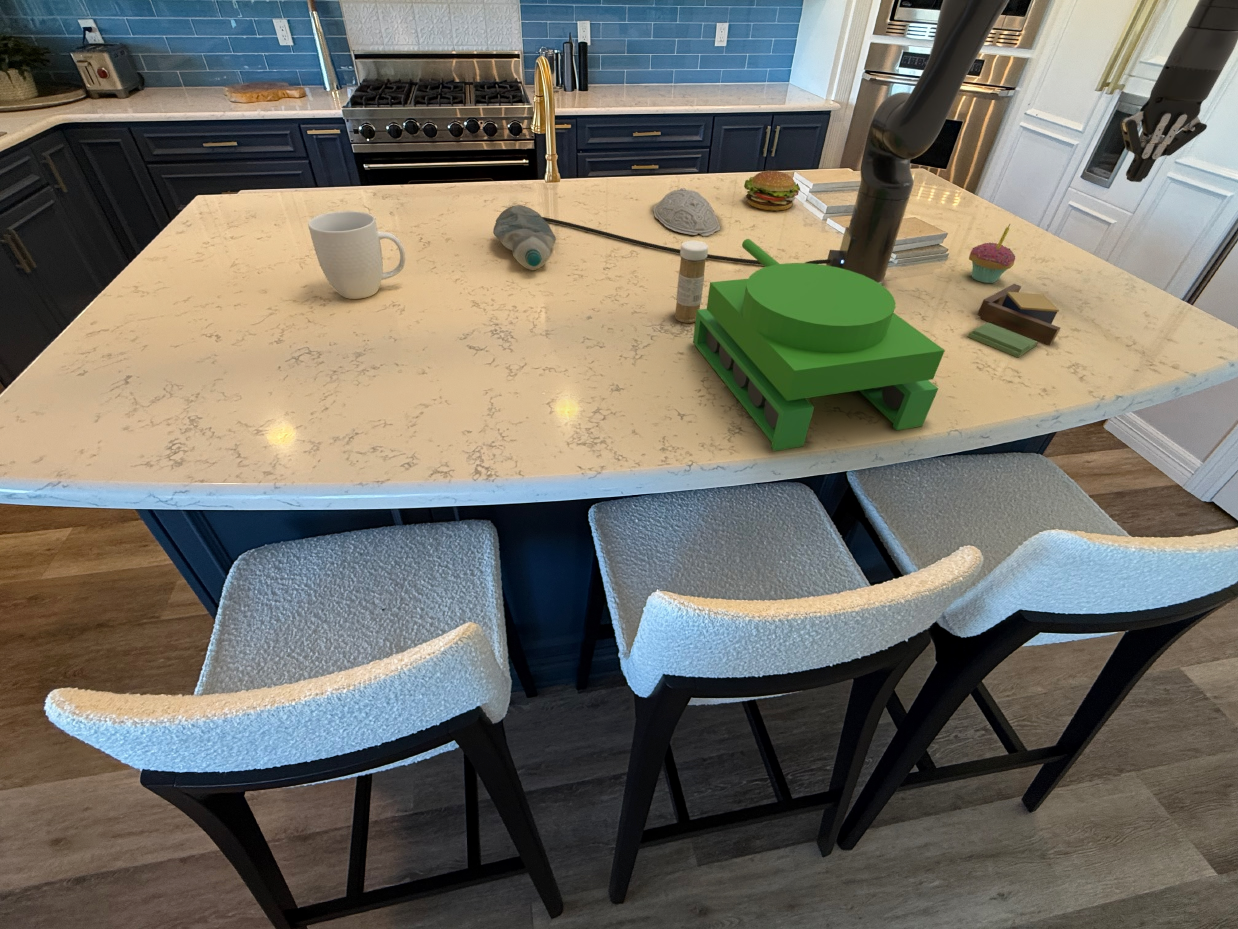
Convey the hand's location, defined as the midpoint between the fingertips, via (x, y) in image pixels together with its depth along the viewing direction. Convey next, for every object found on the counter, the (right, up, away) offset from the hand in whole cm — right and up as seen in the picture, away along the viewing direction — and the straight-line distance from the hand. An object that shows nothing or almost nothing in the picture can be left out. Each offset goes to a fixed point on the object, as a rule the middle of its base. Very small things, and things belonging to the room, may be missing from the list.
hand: (1133, 180), depth 109 cm
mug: (-137, -17, +8) cm, 138 cm away
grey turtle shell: (-73, +11, +46) cm, 87 cm away
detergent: (-109, -5, +24) cm, 112 cm away
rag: (-22, -28, +1) cm, 35 cm away
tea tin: (-14, -22, +8) cm, 28 cm away
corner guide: (-17, -22, +9) cm, 29 cm away
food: (-50, +19, +57) cm, 78 cm away
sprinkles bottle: (-77, -23, +4) cm, 81 cm away
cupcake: (-13, -10, +23) cm, 28 cm away
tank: (-62, -35, -9) cm, 72 cm away
